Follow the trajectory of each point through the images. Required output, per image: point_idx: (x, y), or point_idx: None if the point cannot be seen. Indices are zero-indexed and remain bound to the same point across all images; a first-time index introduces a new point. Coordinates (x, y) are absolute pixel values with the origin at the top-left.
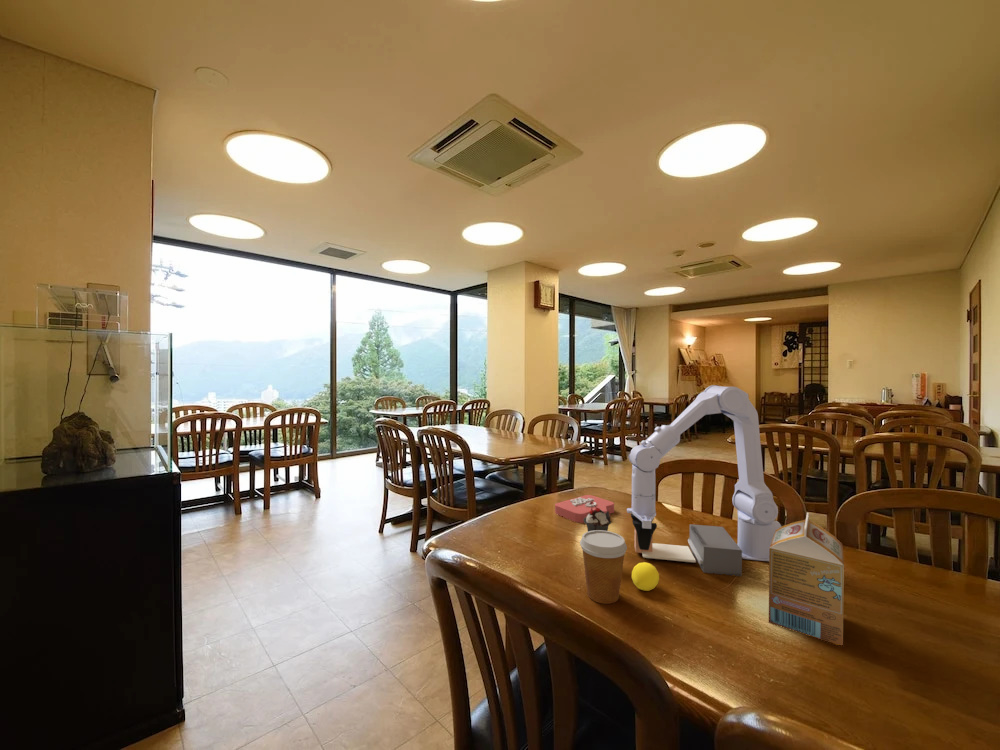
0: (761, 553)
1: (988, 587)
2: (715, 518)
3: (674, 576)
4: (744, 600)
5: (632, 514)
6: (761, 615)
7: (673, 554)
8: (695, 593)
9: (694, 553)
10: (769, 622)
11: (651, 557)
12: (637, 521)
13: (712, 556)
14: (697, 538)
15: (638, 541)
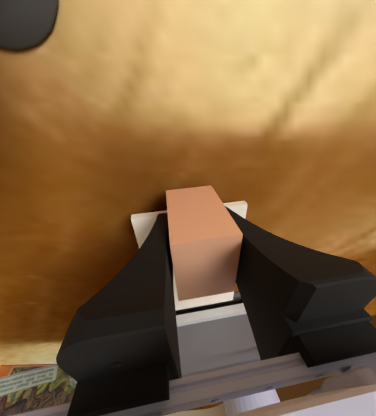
0: None
1: (200, 409)
2: (373, 310)
3: (75, 275)
4: (55, 348)
5: (353, 289)
6: (18, 360)
7: (174, 282)
8: (15, 306)
9: (187, 314)
10: (1, 366)
11: (137, 238)
12: (136, 357)
13: None
14: (190, 366)
15: (151, 230)
